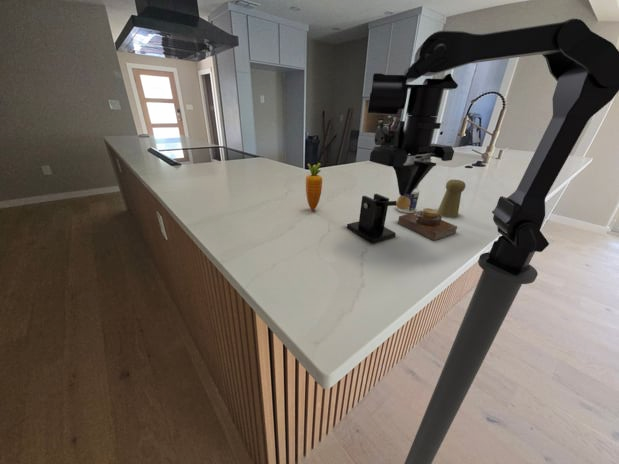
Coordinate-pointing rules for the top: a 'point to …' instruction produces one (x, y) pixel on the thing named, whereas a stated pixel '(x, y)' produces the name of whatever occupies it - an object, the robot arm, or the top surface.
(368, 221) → the bracket
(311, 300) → the top surface
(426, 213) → the button
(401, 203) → the ball knob lever
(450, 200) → the cork
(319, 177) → the carrot
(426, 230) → the switch block
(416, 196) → the pill bottle
